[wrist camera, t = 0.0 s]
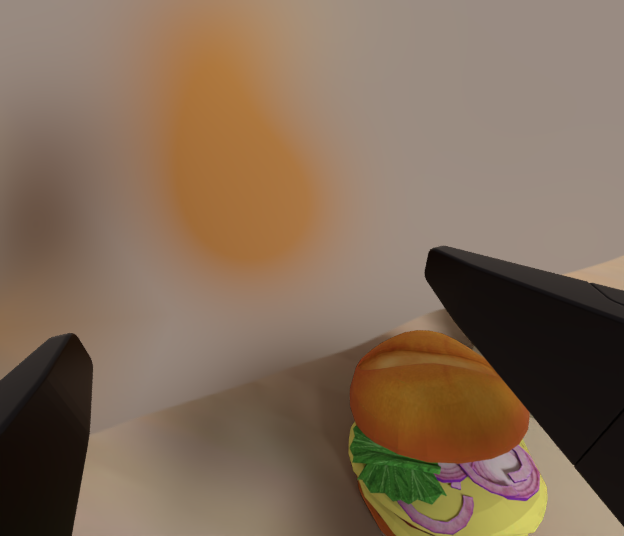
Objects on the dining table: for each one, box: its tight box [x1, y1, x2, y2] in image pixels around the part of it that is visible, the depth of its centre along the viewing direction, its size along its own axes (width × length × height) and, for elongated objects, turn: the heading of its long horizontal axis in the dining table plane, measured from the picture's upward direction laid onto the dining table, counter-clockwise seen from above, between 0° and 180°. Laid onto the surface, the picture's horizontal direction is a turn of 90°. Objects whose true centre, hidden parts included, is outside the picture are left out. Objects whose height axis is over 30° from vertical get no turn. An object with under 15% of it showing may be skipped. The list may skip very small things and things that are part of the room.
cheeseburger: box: [349, 330, 547, 536], centre depth 18 cm, size 10×11×10 cm
